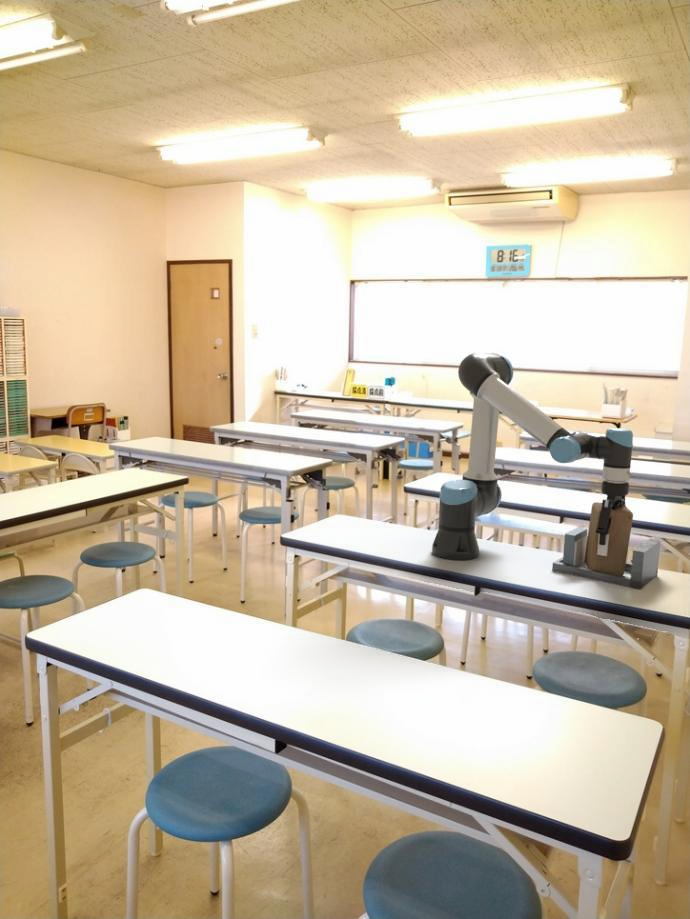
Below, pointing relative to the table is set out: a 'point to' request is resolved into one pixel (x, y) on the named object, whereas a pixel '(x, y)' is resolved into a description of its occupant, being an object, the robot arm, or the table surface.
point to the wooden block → (616, 543)
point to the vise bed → (640, 568)
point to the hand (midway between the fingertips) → (609, 550)
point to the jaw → (575, 546)
